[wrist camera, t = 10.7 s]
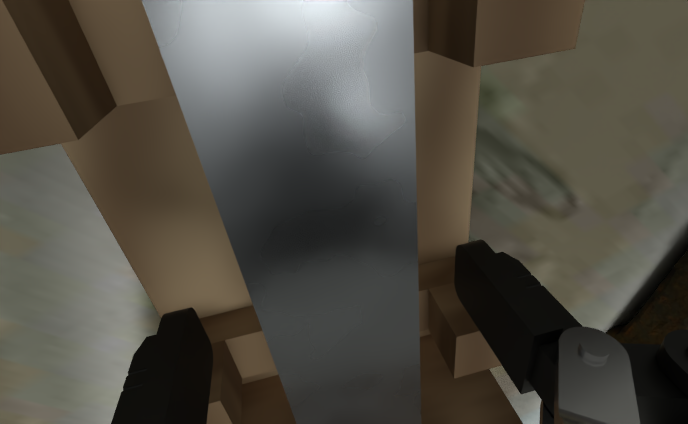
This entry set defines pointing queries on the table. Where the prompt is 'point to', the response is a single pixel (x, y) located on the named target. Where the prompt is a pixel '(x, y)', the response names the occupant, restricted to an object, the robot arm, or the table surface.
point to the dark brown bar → (659, 310)
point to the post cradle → (197, 199)
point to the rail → (313, 185)
